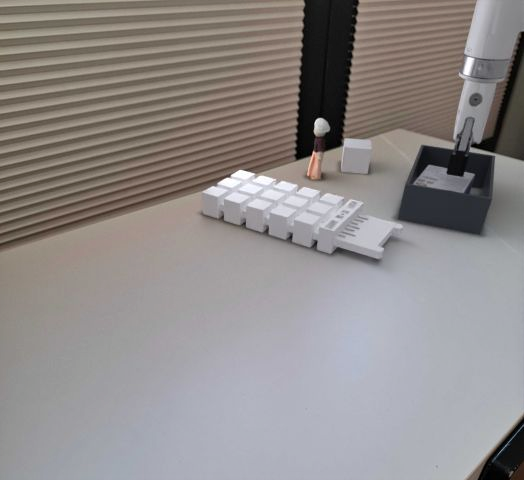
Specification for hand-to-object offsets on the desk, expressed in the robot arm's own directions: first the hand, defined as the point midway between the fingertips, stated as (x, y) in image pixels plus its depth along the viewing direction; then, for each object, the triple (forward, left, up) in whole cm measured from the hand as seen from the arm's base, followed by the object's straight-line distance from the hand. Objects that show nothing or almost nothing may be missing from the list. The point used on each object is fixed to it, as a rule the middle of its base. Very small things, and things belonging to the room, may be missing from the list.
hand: (454, 174), depth 98 cm
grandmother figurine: (+24, -16, -8) cm, 29 cm away
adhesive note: (+14, -21, -8) cm, 26 cm away
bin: (0, -2, -7) cm, 8 cm away
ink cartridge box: (-2, -7, -4) cm, 8 cm away
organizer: (+31, +6, -8) cm, 32 cm away
